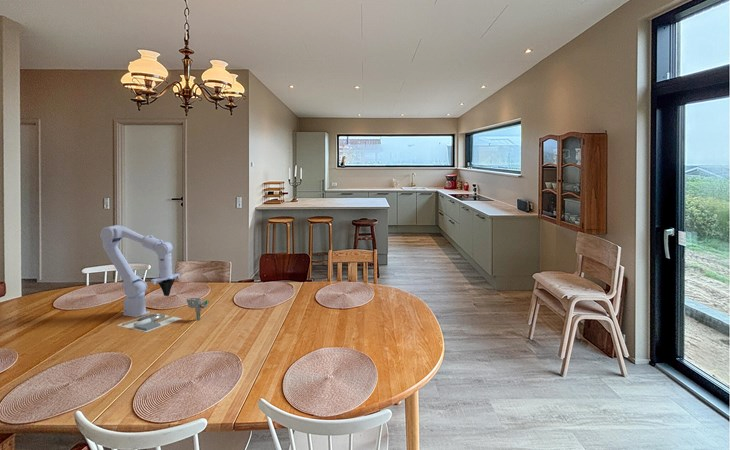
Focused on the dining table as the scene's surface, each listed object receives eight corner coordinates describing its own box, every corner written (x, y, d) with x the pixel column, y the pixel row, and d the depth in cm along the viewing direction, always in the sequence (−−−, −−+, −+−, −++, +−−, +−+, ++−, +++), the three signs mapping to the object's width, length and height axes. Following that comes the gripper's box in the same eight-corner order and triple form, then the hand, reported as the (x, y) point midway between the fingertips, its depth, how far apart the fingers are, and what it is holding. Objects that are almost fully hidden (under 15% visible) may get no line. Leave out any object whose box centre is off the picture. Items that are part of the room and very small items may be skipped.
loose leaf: (139, 320, 197) (138, 315, 197) (152, 316, 203) (152, 311, 203) (151, 323, 194) (151, 318, 193) (165, 318, 200) (164, 313, 200)
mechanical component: (206, 322, 197) (205, 300, 195) (186, 320, 199) (185, 299, 197) (210, 320, 200) (209, 299, 198) (190, 318, 202) (189, 297, 200)
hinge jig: (116, 325, 191) (116, 320, 191) (153, 313, 209) (153, 307, 208) (146, 332, 184) (146, 326, 183) (182, 319, 201) (182, 313, 200)
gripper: (157, 271, 196) (159, 300, 198) (183, 265, 209) (185, 292, 211) (147, 269, 199) (148, 298, 201) (173, 264, 212) (174, 291, 214)
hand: (166, 295), depth 206 cm, fingers closed
